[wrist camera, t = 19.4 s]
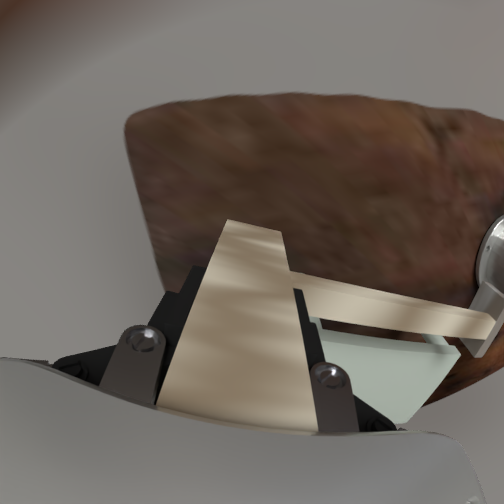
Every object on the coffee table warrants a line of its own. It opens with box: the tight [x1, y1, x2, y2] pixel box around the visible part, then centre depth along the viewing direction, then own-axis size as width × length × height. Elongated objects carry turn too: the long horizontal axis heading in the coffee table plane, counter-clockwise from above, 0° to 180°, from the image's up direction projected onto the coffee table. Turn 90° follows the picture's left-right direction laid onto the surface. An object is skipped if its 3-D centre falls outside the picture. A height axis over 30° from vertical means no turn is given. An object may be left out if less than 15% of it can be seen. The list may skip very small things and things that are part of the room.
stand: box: [301, 273, 461, 424], centre depth 27 cm, size 17×11×12 cm, turn 77°
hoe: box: [156, 220, 504, 432], centre depth 10 cm, size 21×5×14 cm, turn 77°
